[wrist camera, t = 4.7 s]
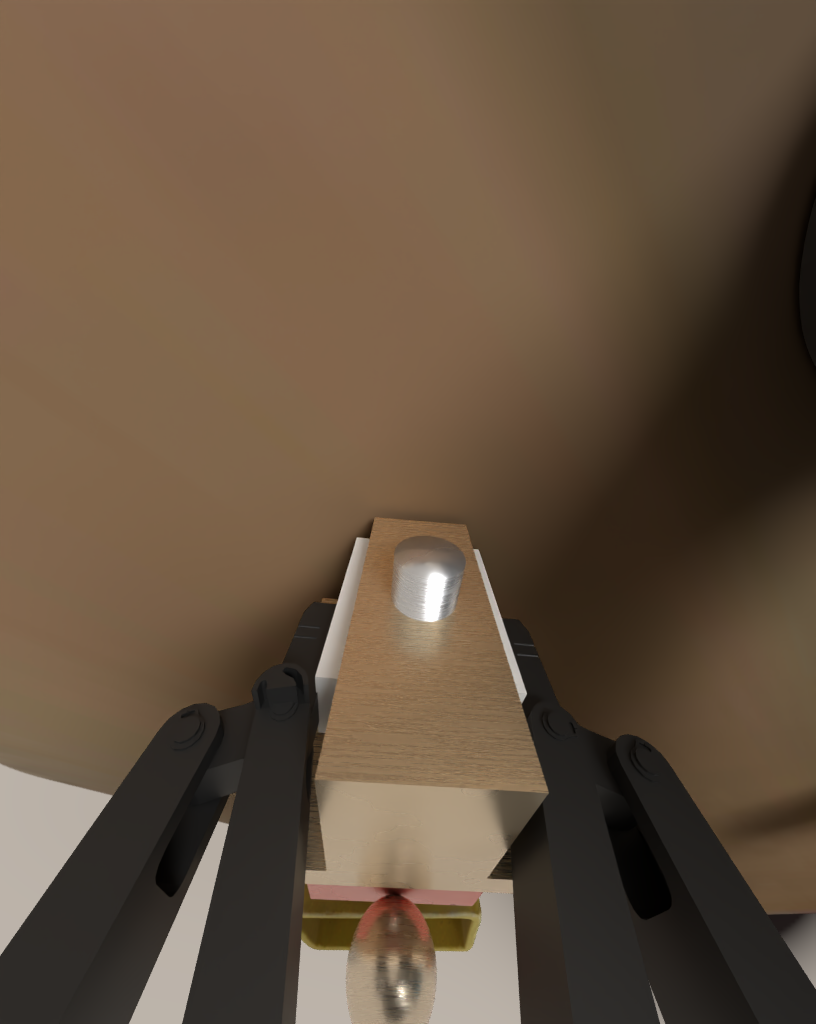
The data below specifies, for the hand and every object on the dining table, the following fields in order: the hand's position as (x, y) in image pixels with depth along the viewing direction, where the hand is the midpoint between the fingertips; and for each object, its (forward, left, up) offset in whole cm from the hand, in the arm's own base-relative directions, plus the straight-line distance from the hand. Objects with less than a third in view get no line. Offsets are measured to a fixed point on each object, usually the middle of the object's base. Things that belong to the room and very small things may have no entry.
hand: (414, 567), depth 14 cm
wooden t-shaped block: (0, +3, 0) cm, 3 cm away
